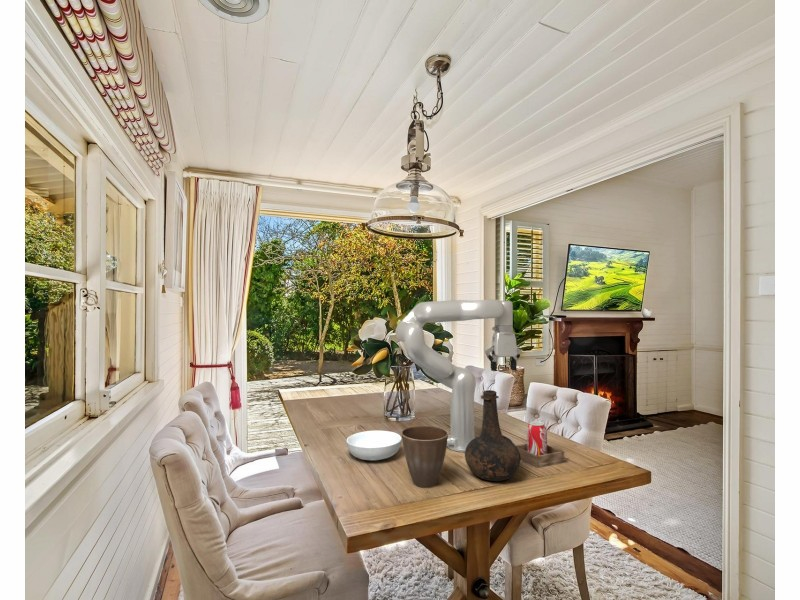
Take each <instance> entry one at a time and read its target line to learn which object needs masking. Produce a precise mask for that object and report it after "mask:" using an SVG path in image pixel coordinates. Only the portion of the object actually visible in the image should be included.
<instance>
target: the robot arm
mask: <svg viewBox="0 0 800 600" xmlns="http://www.w3.org/2000/svg"><path fill="white" fill-rule="evenodd" d="M513 305H514V304H513V302H512V301H511V300H499V299H481V300H479V299H478V300H476V299H475V300H468V299H467V300H466V299H463V300H462V299H457V300H456V299H455V300H453V299H452V300H438V301H436V300H434V301H422V302H418V304H416V305H415V306H414V307H413V308H412V309H411V310H410V311H409V312H408V314H406V315H405V316H404V317H403V319H402V320H401V321H400V322H399V323H398V324H397V326H396V328H395V333H394V334H395V337H396V339H397V340H398V341H400V342H401V343H404V349H405V352H406V355H407V357H408V358H409V360H410V361H411V362H412V363H414V364H415V365H417V366H418V367H420V368H421V369H422V371H423V372H424V373H425V374H426V375H427V377H430V378H432V379H433V380H435V381H437V382H438V383H440V384H442V385H443V386H445V387H446V388H449V389H452V391H451V396H450V401H449V405H450V407H449V408H450V412H449V413H450V414H449V416H450V418H449V420H450V434H448V440H447V447H446V448H448V449H449V450H450V451H451V450H452V451H454V452H458V453H459V452H460V453H465V450H466V447H467V445H468V444H469V442H470V441H471V440H473V439H474V438H475V392H476V386H477V385H476V384H477V381H476V377H475V374H474V373H473V372H472V371H471V370H469V369H467V368H464V367H461V366H457V365H455V364H453V363H452V362H451V360H450V359H449V358H448V357H446V356H445V355H443V354H441V353H439V352H438V351H436V350H435V349H433V348H431V347H430V346H428V345H427V343H426V341H425V332H424V328H423V327H424V326H425V325H426V324H428V323H430V324H432V323H433V324H435V323H448V322H462V321H463V322H464V321H473V320H484V319H485V320H488V319H494V326H492V328H491V330H492V331H494V332H493V334H492V336H491V337H492V338H491V347H489V348H488V349H486V350H485V351H484V353H485V355H486V357H487V359H488V361H489V362H490V371H491V372H497V365H498V364H497V363H498V362H497V361H496V360H498V358H510V359H511V360H510V370H511V371H517V366H518V365H517V362H518V360H519V358H520V357H521V353H522V351H523V350H522V349H520V348H518V346H517V339H516V334H515V332H514V328H513V326H514V325H513V322H514V321H513V320H514V318H513V315H514V312H513V310H514V309H513V307H514V306H513Z"/></svg>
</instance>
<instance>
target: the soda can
mask: <svg viewBox="0 0 800 600" xmlns="http://www.w3.org/2000/svg"><path fill="white" fill-rule="evenodd" d="M547 434H548V430H547V426H546V425H545V422H543V421H539V420H530V421H528V425H526V444H527V450H528V452H530V453H532V454H534V455H536V456H539V455H545V454H547V445H548V435H547Z"/></svg>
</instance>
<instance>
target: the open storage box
mask: <svg viewBox="0 0 800 600" xmlns="http://www.w3.org/2000/svg"><path fill="white" fill-rule="evenodd" d="M515 445H516V444H515ZM516 447H517V448H518V450H519V453H520V457H521V461H522V462H524V463H525V464H528V465H529V466H532V467H534V468H536V469H539V468H545V467H549V466H554V465H555V466H556V465H559V464H563V463H568V459H567V458H565V451H564V450H560V449H558V448H556V447H553V446H551V445H549V444H547V454H545V455H539V456H536V455H534V454H532V453H530V452H528V450H527V443H523V444H517V445H516Z"/></svg>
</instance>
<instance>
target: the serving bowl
mask: <svg viewBox="0 0 800 600" xmlns="http://www.w3.org/2000/svg"><path fill="white" fill-rule="evenodd" d="M402 441H403V440H402V435H400V434H399V433H397V432H394V431H390V430H389V431H388V430H365V431H360V432H356V433H354V434H351V435H349V436H348V437H347V438H346V447H347V449H348V451H349V453H350V454H351V455H352V456H354V457H355V458H357V459H359V460H365V461H380V460H385V459H389V458H391V457H393V456H394V455H395V454H397V452H398V451H399V450H400V448H401V445H402Z"/></svg>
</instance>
